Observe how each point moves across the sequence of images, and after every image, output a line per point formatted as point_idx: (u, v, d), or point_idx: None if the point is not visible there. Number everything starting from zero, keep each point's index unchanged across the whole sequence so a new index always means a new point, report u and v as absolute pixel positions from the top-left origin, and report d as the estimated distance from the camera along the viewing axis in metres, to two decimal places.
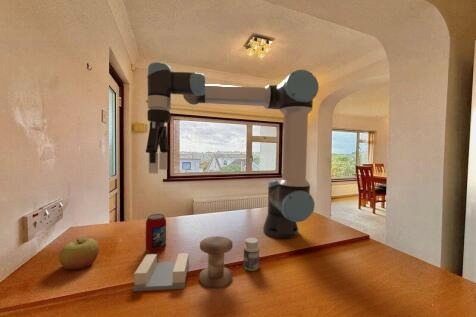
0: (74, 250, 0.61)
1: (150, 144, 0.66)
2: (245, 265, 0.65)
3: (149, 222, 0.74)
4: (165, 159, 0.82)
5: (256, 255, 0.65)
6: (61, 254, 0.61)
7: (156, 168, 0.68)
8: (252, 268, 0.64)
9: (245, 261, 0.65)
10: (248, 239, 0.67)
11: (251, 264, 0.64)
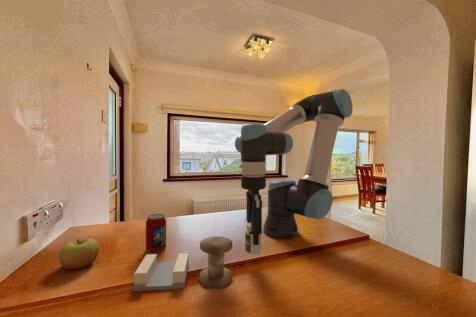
0: (74, 250, 0.61)
1: (256, 229, 0.60)
2: (247, 249, 0.66)
3: (149, 222, 0.74)
4: None
5: None
6: (61, 254, 0.61)
7: (258, 249, 0.64)
8: None
9: (247, 245, 0.65)
10: (250, 223, 0.67)
11: None
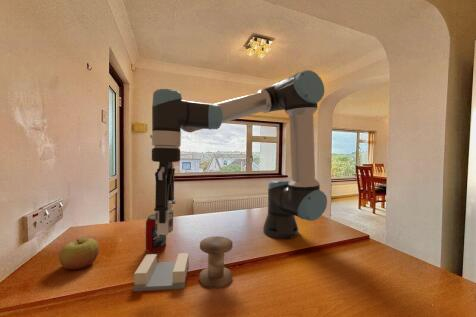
0: (74, 250, 0.61)
1: (159, 204, 0.54)
2: (155, 228, 0.59)
3: (149, 222, 0.74)
4: None
5: None
6: (61, 254, 0.61)
7: (166, 228, 0.57)
8: None
9: (155, 224, 0.59)
10: None
11: None
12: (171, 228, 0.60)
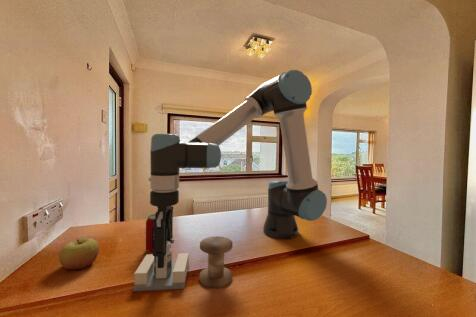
0: (74, 250, 0.61)
1: (157, 250, 0.54)
2: (154, 271, 0.59)
3: (149, 222, 0.74)
4: None
5: None
6: (61, 254, 0.61)
7: (165, 272, 0.58)
8: None
9: (154, 267, 0.59)
10: None
11: None
12: (170, 270, 0.60)
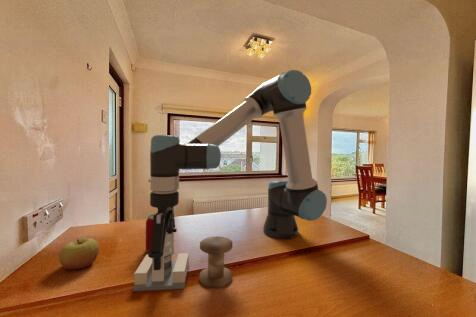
0: (74, 250, 0.61)
1: (154, 249, 0.51)
2: None
3: (149, 222, 0.74)
4: (171, 242, 0.67)
5: (165, 260, 0.59)
6: (61, 254, 0.61)
7: (162, 274, 0.54)
8: None
9: None
10: None
11: None
12: (170, 270, 0.60)
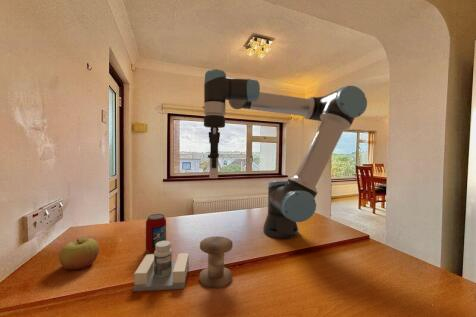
0: (74, 250, 0.61)
1: (213, 150, 0.67)
2: (154, 271, 0.59)
3: (149, 222, 0.74)
4: None
5: (165, 260, 0.59)
6: (61, 254, 0.61)
7: (216, 173, 0.70)
8: (160, 274, 0.58)
9: (154, 267, 0.59)
10: (161, 242, 0.61)
11: (159, 270, 0.58)
12: (170, 270, 0.60)
